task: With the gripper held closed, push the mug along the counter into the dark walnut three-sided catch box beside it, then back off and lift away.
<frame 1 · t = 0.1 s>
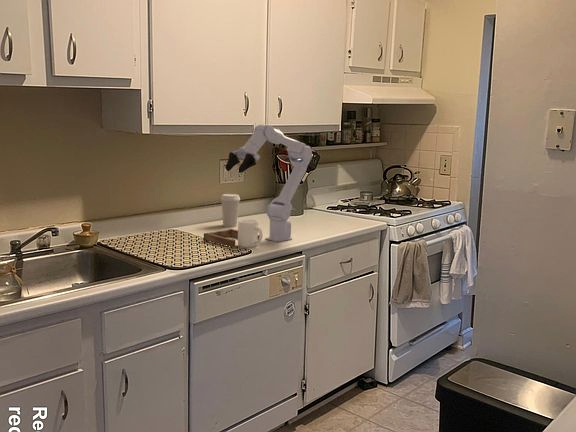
hand: (233, 170, 230), 32 cm above the countertop, tool tilted 50°, fingers open, 7 cm apart
coffee cup: (229, 225, 284), on the countertop
catch box: (231, 241, 250), on the countertop
mug: (250, 246, 242), on the countertop
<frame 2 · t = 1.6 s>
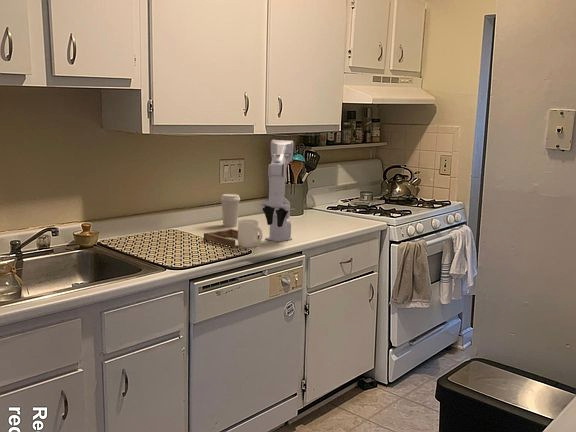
hand: (274, 225, 239), 9 cm above the countertop, tool pointing down, fingers open, 5 cm apart
nothing on the countertop moved.
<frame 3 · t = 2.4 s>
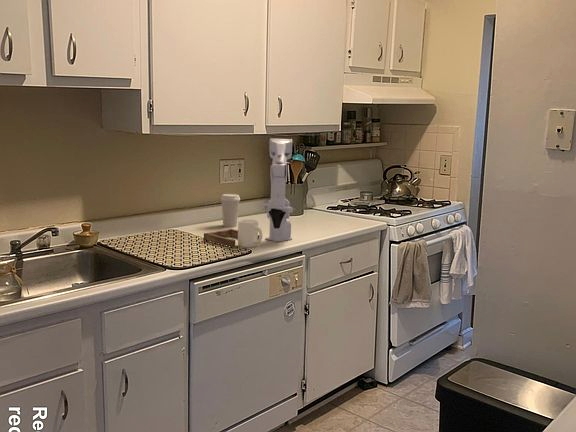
hand: (276, 228, 232), 10 cm above the countertop, tool pointing down, fingers closed
nothing on the countertop moved.
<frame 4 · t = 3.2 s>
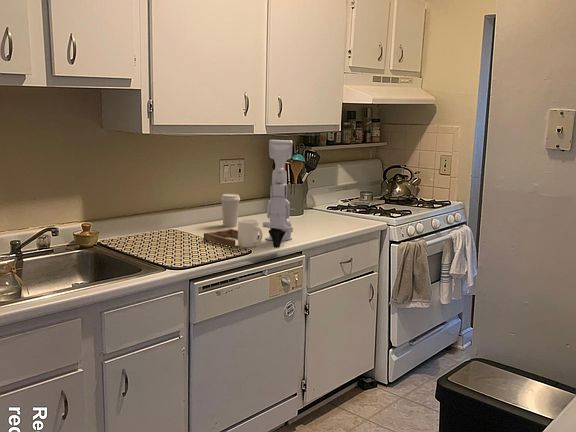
hand: (276, 247, 232), 2 cm above the countertop, tool pointing down, fingers closed
nothing on the countertop moved.
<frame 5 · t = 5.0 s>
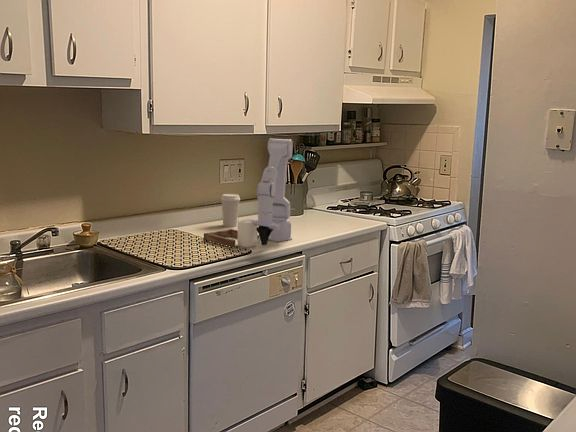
hand: (264, 244, 237), 2 cm above the countertop, tool pointing down, fingers closed
mug: (250, 246, 242), on the countertop, touching gripper
everything else where it was.
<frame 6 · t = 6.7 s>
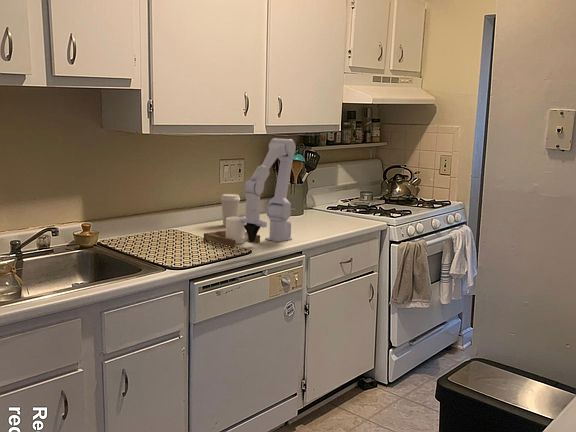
hand: (251, 241, 241), 2 cm above the countertop, tool pointing down, fingers closed
mug: (238, 243, 247), on the countertop, touching gripper
everything else where it was.
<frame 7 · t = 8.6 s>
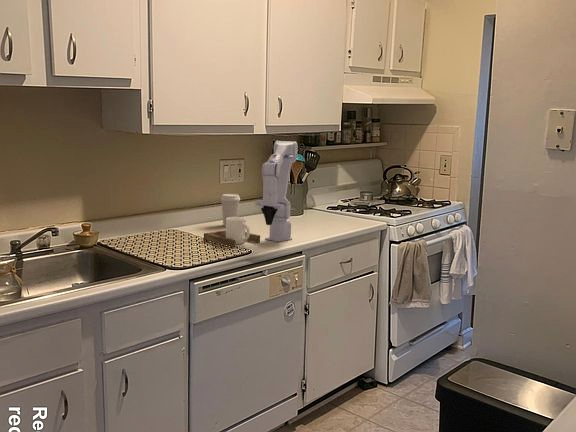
hand: (268, 224, 240), 9 cm above the countertop, tool pointing down, fingers closed
mug: (238, 243, 247), on the countertop
everything else where it was.
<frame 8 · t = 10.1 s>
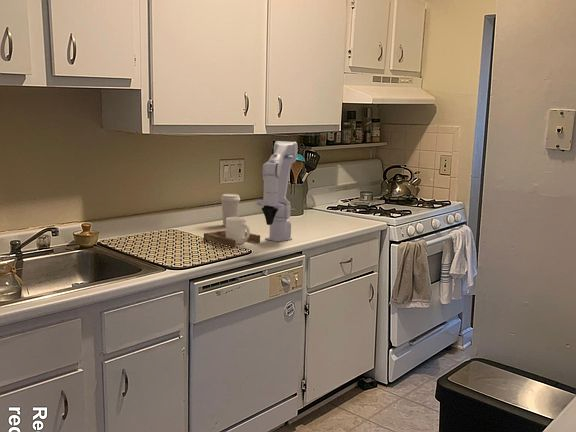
hand: (269, 224, 241), 9 cm above the countertop, tool pointing down, fingers closed
nothing on the countertop moved.
at the end: mug inside the target area (4.0 cm from its centre), on the countertop; mug tilted 0° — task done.
